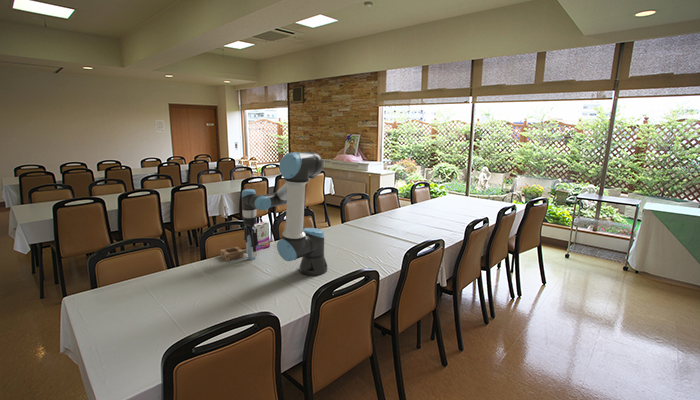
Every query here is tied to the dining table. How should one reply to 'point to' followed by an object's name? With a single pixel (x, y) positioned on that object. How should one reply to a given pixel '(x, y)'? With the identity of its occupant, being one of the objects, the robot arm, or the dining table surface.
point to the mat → (237, 259)
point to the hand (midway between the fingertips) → (251, 254)
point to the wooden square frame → (232, 253)
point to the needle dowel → (249, 248)
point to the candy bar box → (262, 235)
